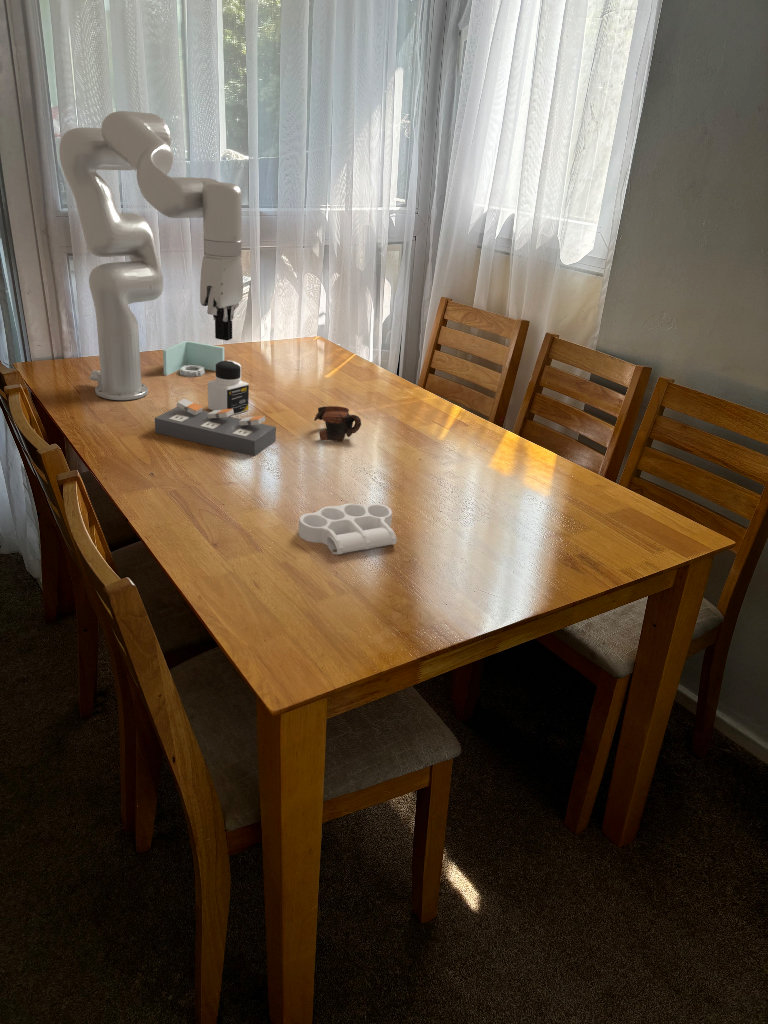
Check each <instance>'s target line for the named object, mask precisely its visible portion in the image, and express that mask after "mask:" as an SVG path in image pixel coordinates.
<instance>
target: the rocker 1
mask: <svg viewBox="0 0 768 1024" xmlns="http://www.w3.org/2000/svg"><path fill="white" fill-rule="evenodd" d="M176 407H180V408H182V409H184V410H185V411H187V412H189V413H191V414H193V415H197V414H199V413H200V412H202V410H203V409H204V407H203V406H202V405H199V404H197V403H195V402H193V401H191V400H188V399H186V398H182V399H180V400H179V401H177V403H176ZM203 411H204V410H203Z"/></svg>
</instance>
